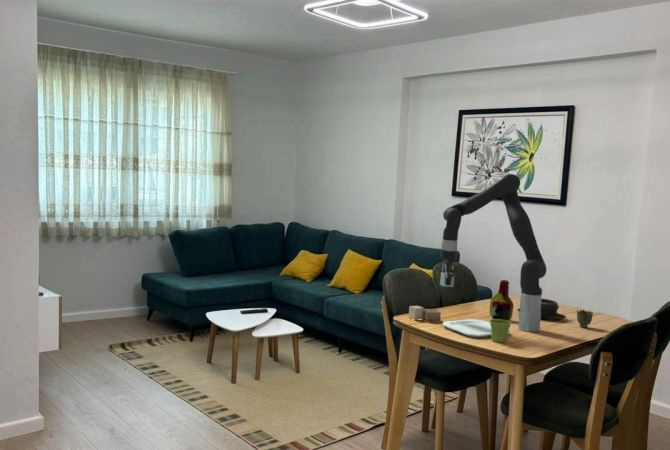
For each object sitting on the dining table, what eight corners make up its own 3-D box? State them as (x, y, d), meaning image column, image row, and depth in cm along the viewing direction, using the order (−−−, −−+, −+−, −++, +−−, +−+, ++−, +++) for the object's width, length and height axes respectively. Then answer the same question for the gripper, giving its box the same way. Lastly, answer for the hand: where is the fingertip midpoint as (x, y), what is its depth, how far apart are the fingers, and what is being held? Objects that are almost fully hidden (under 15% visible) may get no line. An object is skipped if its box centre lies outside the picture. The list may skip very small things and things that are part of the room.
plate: (437, 326, 284) (437, 321, 284) (478, 322, 296) (478, 318, 296) (472, 340, 262) (472, 335, 262) (514, 336, 274) (515, 331, 274)
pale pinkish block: (423, 320, 295) (423, 307, 294) (414, 320, 292) (415, 308, 292) (417, 317, 299) (417, 305, 298) (408, 318, 297) (409, 306, 296)
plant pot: (484, 341, 261) (486, 321, 261) (491, 336, 269) (493, 317, 269) (506, 345, 256) (507, 325, 256) (512, 341, 264) (514, 321, 263)
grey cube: (453, 286, 292) (454, 274, 292) (443, 286, 291) (444, 274, 291) (449, 284, 297) (450, 272, 297) (440, 284, 296) (440, 272, 296)
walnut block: (440, 322, 292) (440, 312, 291) (426, 322, 290) (427, 312, 290) (435, 319, 299) (435, 309, 298) (421, 319, 297) (422, 309, 297)
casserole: (572, 319, 314) (573, 303, 314) (555, 324, 301) (557, 307, 301) (527, 310, 332) (528, 294, 331) (510, 314, 319) (511, 298, 318)
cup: (583, 325, 302) (585, 309, 301) (595, 329, 295) (596, 312, 295) (572, 325, 299) (573, 309, 299) (583, 329, 292) (584, 313, 292)
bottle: (514, 320, 303) (517, 281, 302) (508, 322, 299) (511, 282, 297) (493, 316, 312) (496, 277, 310) (486, 317, 307) (489, 278, 305)
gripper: (462, 251, 286) (458, 287, 288) (451, 247, 300) (447, 281, 302) (447, 251, 285) (443, 286, 286) (436, 246, 299) (433, 280, 300)
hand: (446, 283), depth 294 cm, fingers closed on grey cube, 5 cm apart
